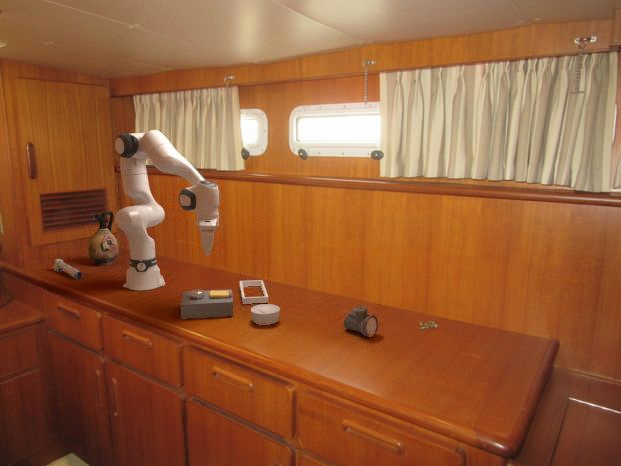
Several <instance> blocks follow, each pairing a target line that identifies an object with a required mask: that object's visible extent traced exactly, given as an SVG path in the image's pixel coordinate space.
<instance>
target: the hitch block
mask: <svg viewBox="0 0 621 466" xmlns="http://www.w3.org/2000/svg"><path fill="white" fill-rule="evenodd" d="M228 290H231V292H232V293H233V289H211V290H204V298H202V299H191V298H190V291H191V290H190V291H188V290H187V291H183V292H182V295H181V296H182V297H181V301H180V320H186V319H185V318H197V319H204V318H203V317H214V318H224V317H223V316H232V317H234V298H233V297H234V296H233V295H232V297H231V298H210V291H228Z"/></svg>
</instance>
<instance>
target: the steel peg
mask: <svg viewBox="0 0 621 466" xmlns="http://www.w3.org/2000/svg"><path fill="white" fill-rule="evenodd" d="M204 291H205V290H204V289H198V288H196V289H195V288H194V289H192V290H190V298H191V299H202V298H204Z"/></svg>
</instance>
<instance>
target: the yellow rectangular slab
mask: <svg viewBox="0 0 621 466" xmlns="http://www.w3.org/2000/svg"><path fill="white" fill-rule="evenodd" d="M227 290H228V291H210V298H231V297H232V296H233V291H232V292H231V290H230V289H227Z"/></svg>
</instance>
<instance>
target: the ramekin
mask: <svg viewBox="0 0 621 466" xmlns="http://www.w3.org/2000/svg"><path fill="white" fill-rule="evenodd" d="M280 312H281V308H280V306H278V305H275V304H272V303H268V304H255V305H253V307H251V308H250V313H251V317H252V321H253V323H254V324H255V323H256V324H255V325H257V324H259V325H258V326H261V325H269V326H271V325H270V324H273V325H275V324H276V323H277V322H278V321H279V317H280ZM274 323H275V324H274Z"/></svg>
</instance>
